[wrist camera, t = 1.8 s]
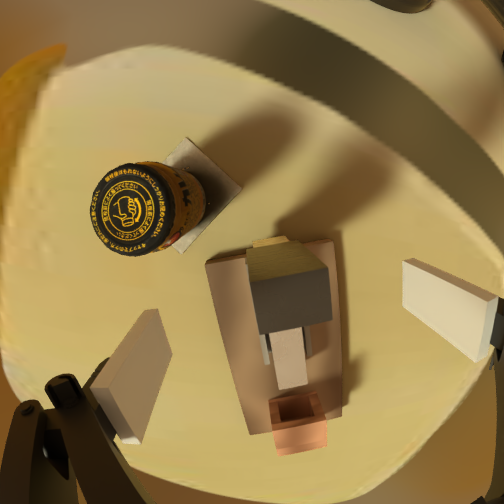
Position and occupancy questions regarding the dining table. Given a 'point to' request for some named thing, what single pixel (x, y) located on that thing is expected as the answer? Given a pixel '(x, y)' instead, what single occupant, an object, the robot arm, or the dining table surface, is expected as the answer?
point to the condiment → (160, 202)
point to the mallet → (288, 301)
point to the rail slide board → (262, 364)
